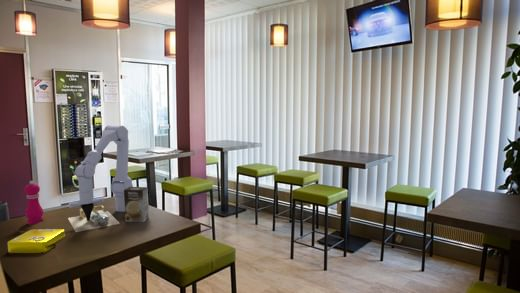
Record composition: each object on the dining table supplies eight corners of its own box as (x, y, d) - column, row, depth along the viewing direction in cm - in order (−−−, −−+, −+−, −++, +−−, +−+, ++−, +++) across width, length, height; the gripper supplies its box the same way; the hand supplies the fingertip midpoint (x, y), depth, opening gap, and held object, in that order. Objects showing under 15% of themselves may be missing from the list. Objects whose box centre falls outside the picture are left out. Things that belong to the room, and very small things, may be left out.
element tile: (67, 238, 151) (66, 227, 150) (44, 253, 136) (43, 241, 135) (32, 239, 151) (31, 227, 151) (5, 253, 136) (4, 241, 136)
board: (108, 213, 184) (107, 211, 184) (120, 226, 164) (120, 223, 164) (68, 220, 174) (67, 217, 174) (75, 234, 154) (75, 232, 154)
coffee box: (124, 224, 167) (122, 189, 165) (131, 219, 173) (129, 186, 171) (144, 224, 166) (142, 189, 164) (149, 220, 172) (147, 186, 170)
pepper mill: (35, 225, 167) (31, 182, 165) (22, 224, 169) (18, 182, 166) (47, 220, 174) (44, 179, 172) (34, 219, 176) (31, 179, 173)
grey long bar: (102, 215, 176) (102, 208, 176) (110, 225, 162) (110, 217, 162) (93, 217, 174) (92, 210, 173) (100, 227, 160) (100, 219, 159)
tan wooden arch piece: (102, 211, 182) (102, 205, 181) (104, 214, 178) (104, 207, 177) (80, 215, 176) (79, 208, 176) (81, 218, 172) (81, 211, 172)
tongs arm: (93, 216, 174) (92, 209, 173) (100, 224, 163) (99, 215, 163) (87, 218, 172) (87, 210, 172) (94, 225, 162) (93, 217, 161)
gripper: (101, 187, 172) (103, 215, 174) (66, 191, 164) (69, 221, 166) (104, 189, 167) (106, 218, 168) (69, 194, 158) (71, 225, 160)
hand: (88, 220), depth 167 cm, fingers closed
